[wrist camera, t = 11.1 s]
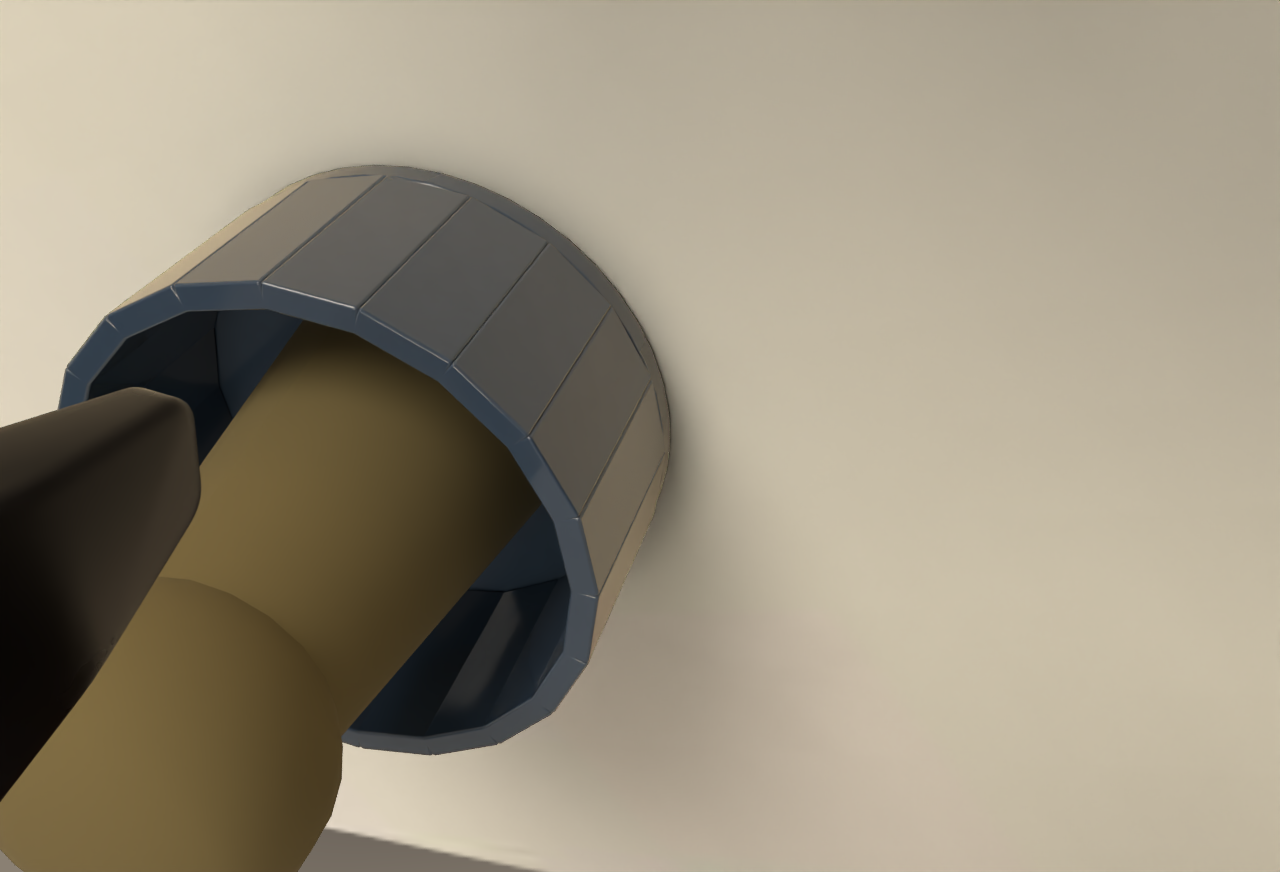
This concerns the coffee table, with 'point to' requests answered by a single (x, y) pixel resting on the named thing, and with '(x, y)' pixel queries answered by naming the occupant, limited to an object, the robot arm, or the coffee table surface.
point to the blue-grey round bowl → (470, 371)
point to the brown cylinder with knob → (273, 621)
